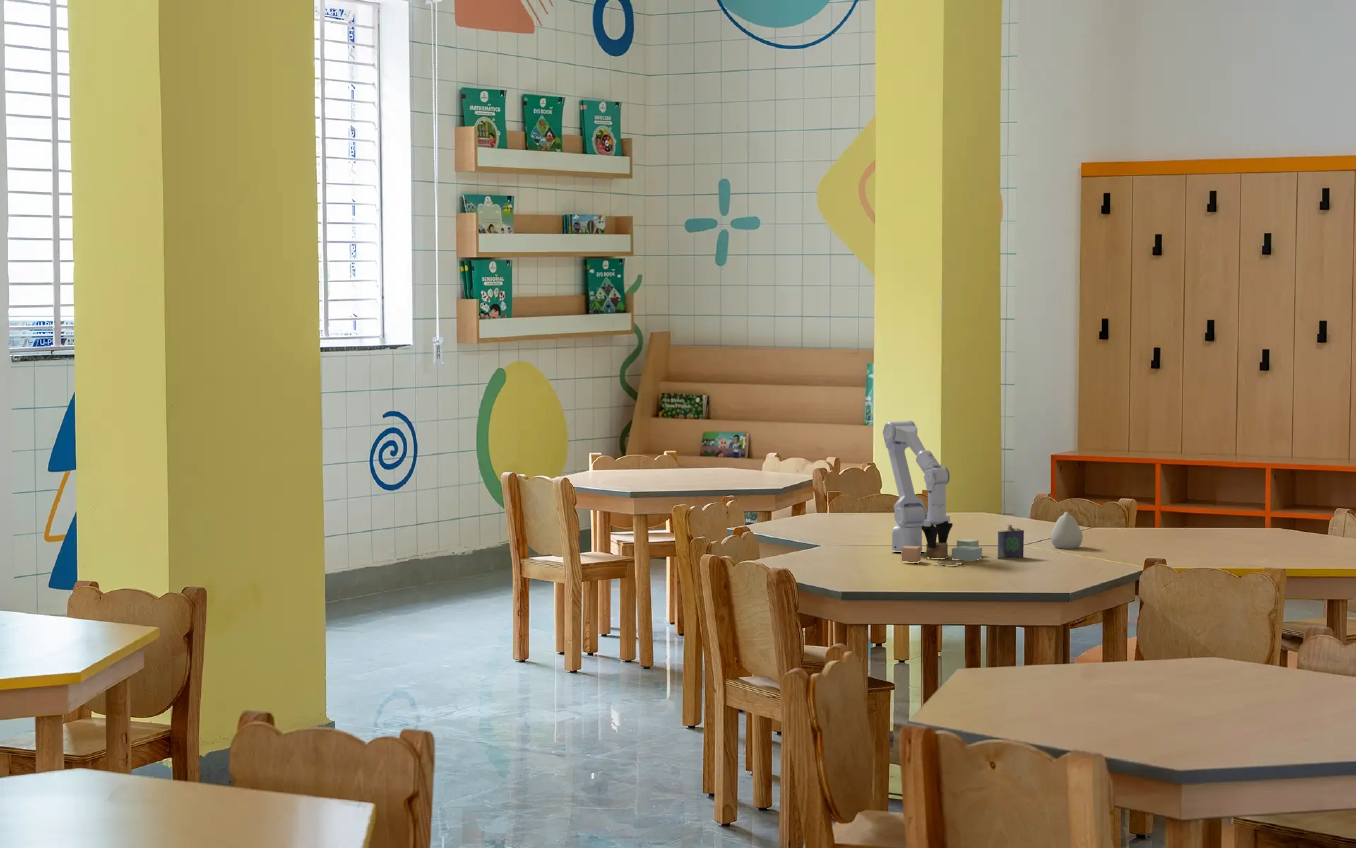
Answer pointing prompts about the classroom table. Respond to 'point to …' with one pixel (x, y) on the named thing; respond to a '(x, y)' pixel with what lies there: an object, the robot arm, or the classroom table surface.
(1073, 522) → the grey teardrop shape
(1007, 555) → the flask
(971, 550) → the base block
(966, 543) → the sage cube
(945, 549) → the walnut cube
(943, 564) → the grey square frame
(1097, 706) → the classroom table surface
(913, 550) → the terracotta cube
